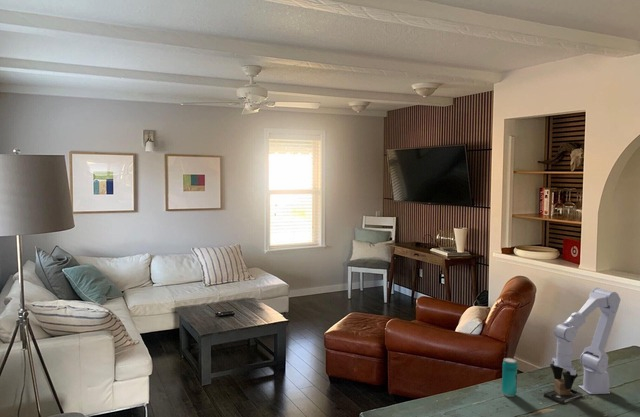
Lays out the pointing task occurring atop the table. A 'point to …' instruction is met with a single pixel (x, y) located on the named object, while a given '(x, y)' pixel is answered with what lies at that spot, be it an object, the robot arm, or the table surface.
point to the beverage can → (509, 377)
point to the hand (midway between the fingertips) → (562, 385)
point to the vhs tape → (562, 396)
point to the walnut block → (560, 387)
